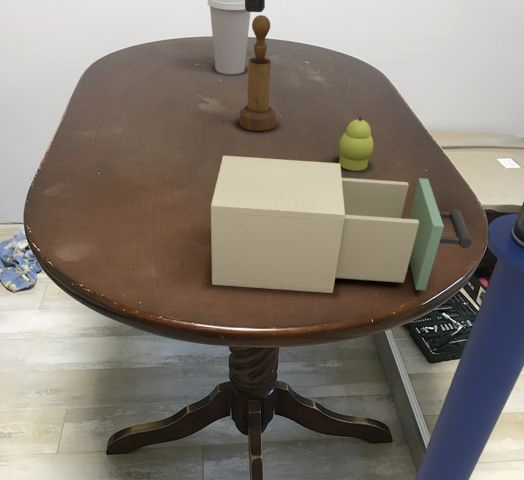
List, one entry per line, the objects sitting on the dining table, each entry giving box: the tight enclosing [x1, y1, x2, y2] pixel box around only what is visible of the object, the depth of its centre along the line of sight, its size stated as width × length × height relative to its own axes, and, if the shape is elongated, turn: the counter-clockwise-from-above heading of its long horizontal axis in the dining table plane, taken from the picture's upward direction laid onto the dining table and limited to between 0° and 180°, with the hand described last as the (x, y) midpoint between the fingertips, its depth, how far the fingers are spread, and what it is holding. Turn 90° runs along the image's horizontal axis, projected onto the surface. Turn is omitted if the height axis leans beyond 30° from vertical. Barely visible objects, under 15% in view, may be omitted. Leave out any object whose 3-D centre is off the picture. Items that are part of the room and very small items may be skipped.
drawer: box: [335, 177, 473, 291], centre depth 73 cm, size 18×12×9 cm, turn 87°
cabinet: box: [210, 155, 345, 294], centre depth 73 cm, size 15×13×11 cm
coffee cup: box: [207, 0, 252, 75], centre depth 126 cm, size 10×10×15 cm
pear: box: [338, 115, 375, 172], centre depth 96 cm, size 6×6×8 cm
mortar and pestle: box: [239, 14, 277, 132], centre depth 103 cm, size 7×6×18 cm
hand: (261, 4), depth 72 cm, fingers open, 8 cm apart
